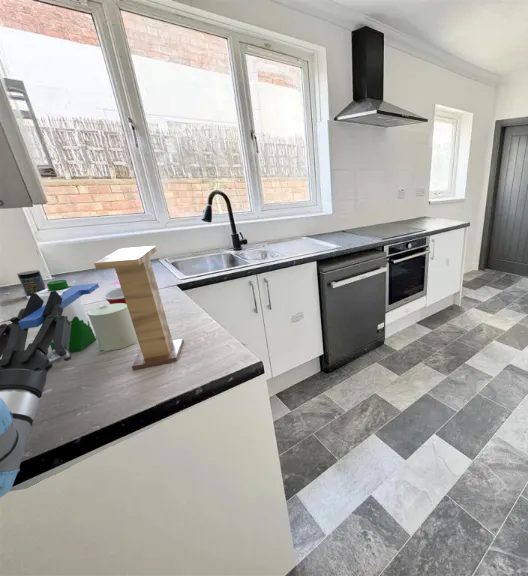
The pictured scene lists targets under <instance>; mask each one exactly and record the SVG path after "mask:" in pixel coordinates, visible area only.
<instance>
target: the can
mask: <svg viewBox="0 0 528 576" xmlns="http://www.w3.org/2000/svg"><path fill="white" fill-rule="evenodd" d="M87 317H88V319H89V322H90V323H91V326H92V330H93V332H94V335H95V338H96V341H97V343H98V345H99V350H100V351H103V352H110V351H111V352H112V351H117V350H121V349H124V348H127V347H129V346H132V345H134V344H135V343H136V342H138V339H137V336H136V333H135V330H134V326H133V323H132V320H131V317H130V314H129V311H128V308H127V304H125V303H116V304H110V303H109V304H104V305H101V306H97V307H95V308H92V309H90V310H89V311H88V312H87Z"/></svg>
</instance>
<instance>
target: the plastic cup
mask: <svg viewBox="0 0 528 576" xmlns="http://www.w3.org/2000/svg"><path fill="white" fill-rule="evenodd" d="M102 297H103V299H105V300H106V301H107V302H108V303H109V304H116V303H125V304H126V301H125V298H124V295H123V292H122V289H121V286H119V287H117V288H114V289H111V290H109V291H106V292H105V293H104V294H103V295H102Z"/></svg>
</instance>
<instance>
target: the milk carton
mask: <svg viewBox="0 0 528 576" xmlns="http://www.w3.org/2000/svg"><path fill="white" fill-rule="evenodd" d="M72 286H73V285H69V283H68V281H67V280H66V279H59V280H58V279H57V280H53V281H49V282H47V283H46V287H47V289H45V290H42V291H40V292H37V293H36V294H37V295H38V296H39V297H40V298H41V299H42V300H43V301H44V303H43V305H42V307H43V306H44V305H46V303H47V301H48V298H49V295H50V293H51V291H56V292H57V293H58V294H59V295H62V294H63V292H64V291H66V290H68V289H69V288H71V287H72ZM81 297H82V296H81ZM81 297H79V298H78V299H76V300H75V301H74V302H72V303H71V304H69V305H68V306H67V307H65V308H64V309H63V313H62V316H65V317H66V318H67V319H68V320H69V321H70V323H71V331H70V341H69V350H68V351H69V353H73V352H74V353H75V352H81V351H83V350H84V349H85V348H87V347H88V346H89V345H91V344H93V343H94V342H95V341H97V337H96V335H95V332H94V330H93V328H92V327H91V326H92V325H91V324H90V323H91V322H90V320H89V317H88V314H87V313H86V310H85V307H84V304H83V301H82V299H81ZM29 298H30V296H26V299H27V300H28V301H29ZM53 343H54V338H53V340H52V342H51V344H50V346H49V347H50V350H51V351H52V350H54V347H53Z"/></svg>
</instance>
